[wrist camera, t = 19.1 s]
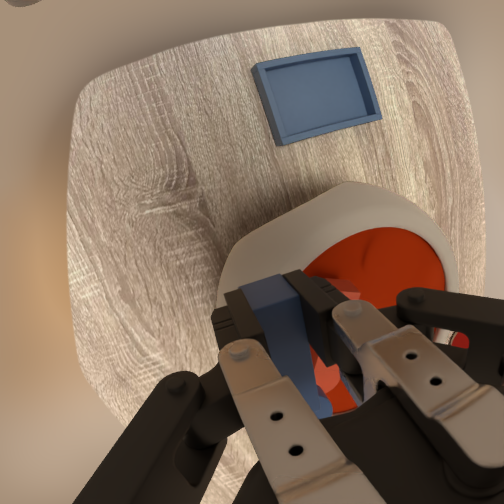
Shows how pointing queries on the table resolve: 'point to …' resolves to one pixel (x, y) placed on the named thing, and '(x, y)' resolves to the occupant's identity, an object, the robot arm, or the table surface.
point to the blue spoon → (287, 337)
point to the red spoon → (323, 375)
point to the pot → (349, 252)
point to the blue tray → (316, 93)
